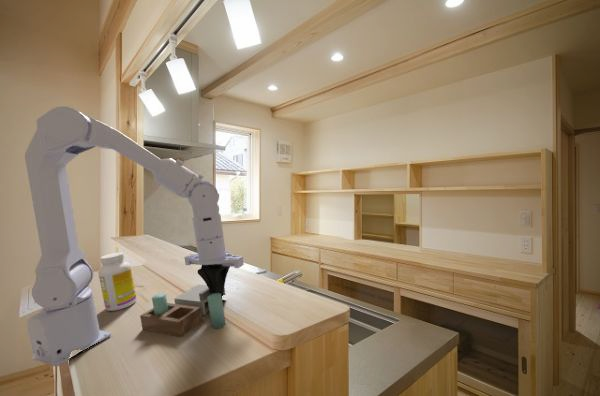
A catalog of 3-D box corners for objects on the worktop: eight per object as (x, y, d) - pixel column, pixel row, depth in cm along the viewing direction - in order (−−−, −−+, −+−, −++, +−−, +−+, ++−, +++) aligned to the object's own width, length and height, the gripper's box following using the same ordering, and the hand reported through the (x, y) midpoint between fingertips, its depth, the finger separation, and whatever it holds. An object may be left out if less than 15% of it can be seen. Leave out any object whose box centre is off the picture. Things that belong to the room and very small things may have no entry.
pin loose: (219, 329, 55) (215, 299, 54) (208, 327, 56) (204, 298, 55) (228, 322, 57) (223, 293, 56) (217, 320, 58) (213, 292, 57)
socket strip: (181, 337, 53) (178, 322, 53) (142, 329, 58) (140, 315, 57) (202, 321, 59) (200, 307, 58) (165, 315, 63) (163, 302, 63)
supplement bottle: (141, 297, 74) (133, 249, 73) (127, 310, 68) (118, 257, 66) (115, 300, 74) (106, 252, 72) (99, 313, 67) (88, 261, 66)
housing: (204, 315, 60) (200, 294, 60) (176, 311, 64) (173, 291, 63) (226, 299, 67) (223, 280, 67) (200, 296, 70) (197, 278, 70)
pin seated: (162, 328, 58) (158, 299, 57) (153, 326, 59) (148, 298, 58) (173, 321, 60) (168, 294, 59) (164, 319, 61) (159, 292, 60)
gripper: (248, 232, 62) (255, 291, 64) (197, 232, 68) (205, 286, 70) (227, 241, 56) (236, 306, 57) (173, 240, 62) (183, 300, 63)
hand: (218, 296), depth 63 cm, fingers closed
